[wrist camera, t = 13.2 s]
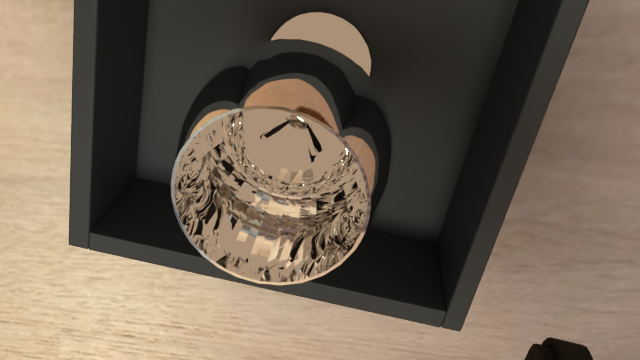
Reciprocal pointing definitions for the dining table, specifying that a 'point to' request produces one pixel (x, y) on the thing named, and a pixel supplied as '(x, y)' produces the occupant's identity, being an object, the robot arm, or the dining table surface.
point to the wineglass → (285, 153)
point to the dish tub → (401, 101)
